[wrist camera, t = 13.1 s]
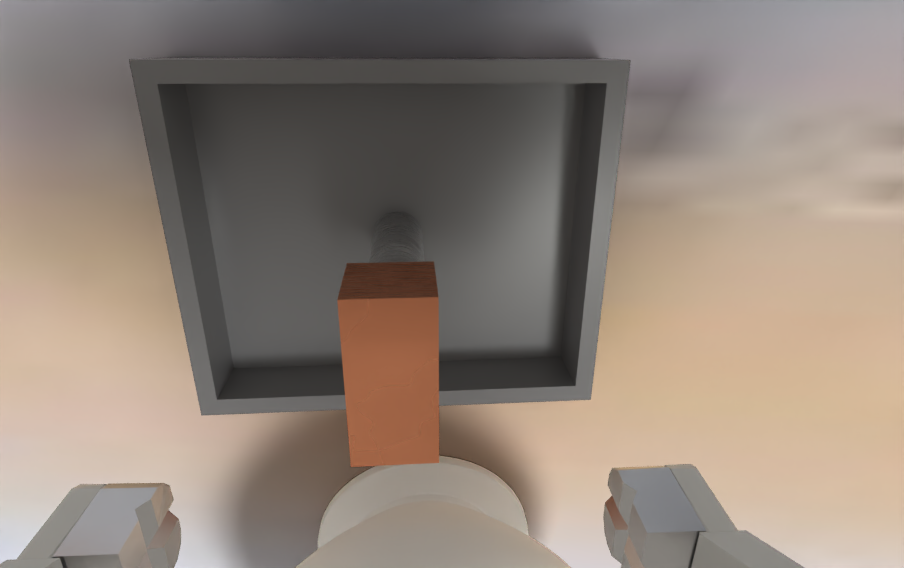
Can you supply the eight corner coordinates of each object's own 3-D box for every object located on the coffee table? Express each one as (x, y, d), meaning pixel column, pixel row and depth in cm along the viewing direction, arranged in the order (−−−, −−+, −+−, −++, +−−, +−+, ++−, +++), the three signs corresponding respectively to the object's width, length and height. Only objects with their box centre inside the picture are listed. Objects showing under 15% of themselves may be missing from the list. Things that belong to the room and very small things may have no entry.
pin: (423, 180, 25) (438, 296, 14) (424, 284, 27) (439, 462, 16) (368, 180, 25) (337, 299, 13) (373, 285, 27) (350, 466, 15)
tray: (600, 58, 24) (630, 60, 21) (571, 361, 30) (590, 399, 27) (167, 57, 23) (128, 59, 20) (224, 374, 29) (201, 415, 26)
